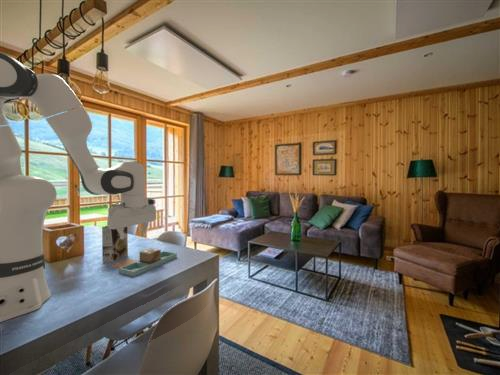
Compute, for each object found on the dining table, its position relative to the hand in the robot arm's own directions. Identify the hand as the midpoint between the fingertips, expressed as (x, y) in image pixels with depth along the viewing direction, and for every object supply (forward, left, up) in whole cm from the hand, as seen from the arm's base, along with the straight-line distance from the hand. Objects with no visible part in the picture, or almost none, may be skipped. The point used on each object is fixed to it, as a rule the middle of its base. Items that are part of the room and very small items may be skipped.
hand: (133, 236), depth 95 cm
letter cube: (+8, 0, -14) cm, 16 cm away
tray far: (+16, 0, -15) cm, 22 cm away
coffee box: (+7, +21, -15) cm, 27 cm away
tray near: (0, 0, -15) cm, 15 cm away
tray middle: (+8, 0, -15) cm, 17 cm away
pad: (+4, +9, -15) cm, 18 cm away
